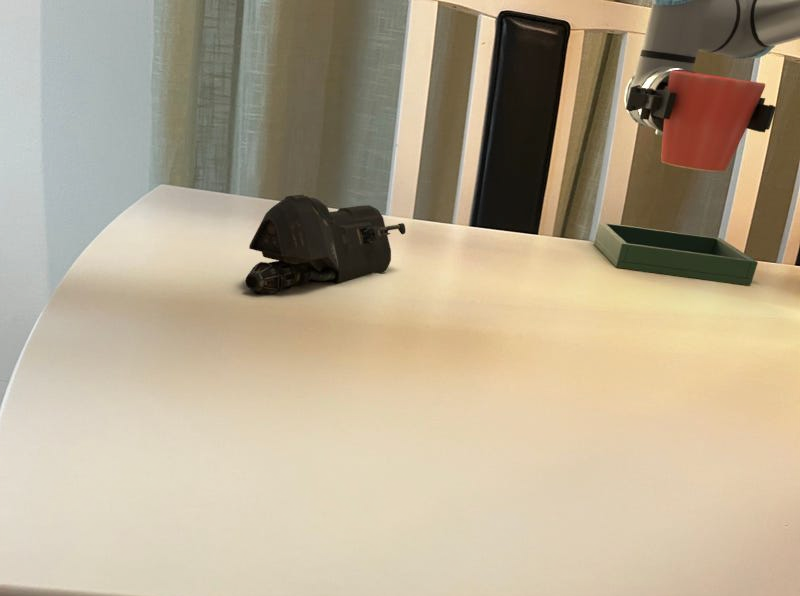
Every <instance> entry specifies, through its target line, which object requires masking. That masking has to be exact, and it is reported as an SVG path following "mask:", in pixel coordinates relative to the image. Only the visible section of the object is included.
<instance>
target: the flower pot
mask: <svg viewBox="0 0 800 596" xmlns="http://www.w3.org/2000/svg"><path fill="white" fill-rule="evenodd" d="M765 88H766V83H765V82H757V81H753V80H752V81H751V80H743V79H737V78H731V77H730V78H729V77H725V76H717V75H710V74H703V73H698V72H695V73H690V72H682V71H670V75H669V82H668V90H667V91H669V92H674V93H677V94H676V97H675V101H674V105H673V109H672V112H671V116H670V119H664V128H663V134H662V140H661V142H662V143H661V156H660V162H661V163H662V164H666V165H669V166H673V167H677V168H683V169H689V170H695V171H703V172H713V173H714V172H715V173H717V172H718V173H719V172H721V173H723V172H724V173H725V171H726V170H727V168H728V166H729V165H730V163H731V161H732V159H733V157H734V155H735V153H736V150H737V148H738V147H739V144H740V142H741V140H742V138H743V136H744V135H745V132H746V130H747V126H748V124H749V122H750V120H751V117H752V115H753V113H754V111H755V109H756V106H757V104H758V102H759V100H760V98H762V95H763V93H764V91H765Z"/></svg>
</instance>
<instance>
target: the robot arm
mask: <svg viewBox="0 0 800 596" xmlns="http://www.w3.org/2000/svg"><path fill="white" fill-rule="evenodd" d="M651 3H652V4H651V9H650V13H649V17H648V20H647V21H648V22H647V25H646V30H645V33H644V39H643V42H642V47H641V51H640V54H639V57H638V60H637V65H636V69H635V73H634V75H633V76H632V77H631V78H630V80H629V81H628V83H627V85H626V88H625V91H624V106H625V107H624V108H625V109H624V110H626V112H627V114H628V115H629V116H630V118H632V120H633V121H634V122H635V123H638V124H639V126H643V127H648V128H650V129H654V130H655V135H656V136H663V128H664V119H670V116H671V112H672V109H673V105H674V101H675V97H676V94H677V93H674V92H669V91H667V90H668V82H669V75H670V71H682V72H690V73H696V72H695V71H693V70H694V69H693V68H694V64H695V63H696V60H697V55H698V52H703V53H709V54H715V55H722V56H727V57H732V58H735V59H738V60H744V59H759V58H762V57H764V56H766V55H767V54H768V53H770V52H771V50H772V49H774V48H775V47H776V46H779V45H782V44H786V43H790V42H794V41H797V40H800V0H651ZM765 101H766V97H760V100H759V102H758V104H757V106H756V109H755V111H754V113H753V115H752V117H751V120H750V122H749V124H748V126H747V128H746V130H747V129H748V130H751V131H754V132H758V133H766V131H767V130H770V128H771V125H772V123H773V119H774V115H775V113H776V109H777V106H776V105H773V104H769V105H768V104H765Z"/></svg>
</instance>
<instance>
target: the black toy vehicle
mask: <svg viewBox="0 0 800 596" xmlns="http://www.w3.org/2000/svg"><path fill="white" fill-rule="evenodd" d="M394 230H398V232H399V234H401V235H402V236H403V235H404V234H406V225H405V223H404V222H402V223H398V224H392V225H386V224H385V219H384V216H383V215H382V213H381V212H380V210H379V209H378V208H376V207H374V206H372V205H370V204H368V205H367V204H365V205H356V206H349V207H347V206H346V207H341V208H338V209H337V210H335V211H330V210H329V207H328V206H327V205H326V204H324V203H323V202H322V201H321V200H320V199H317V198H315V197H309V196H308V195H304V194H296V195H295V194H294V195H287V196H285V198H284V199H282V200H280V201H279V202H277V203H276V204H275V205H273V206H272V207H271V208H270V209H269V210H267V212H266V213H265V215H264V216H263V218H262V219H261V222H260V223H259V226H258V228H257V229H256V232H255V234H254V235H253V237H252V239H251V242H250V243H249V246H248V249H250V250H253V251H256V252H261V255H262V257H263V258H266V259H270V260H274V261H271V262H265V261H259V262H258V263H256V264H255V265H254V266H253V267H252V269H251V270H250V271H249V272H248V274H247V276H246V277H245V286H246V287H247V288H248V289H249V290H250V291H252V292H254V293H256V292H257V293H260V294H263V295H274V294H275V293H277V292H282V291H286V290H290V289H291V288H292V287H294V286H299V285H302V284H304V283H309V281H310V280H313V281H318V282H326V281H329V282H332V283H334V284H339V283H343V282H346V281H350V280H354V279H357V278H361V277H364V276H368V275H371V274H381V273H384V272H386V271H387V270H388V268H389V266H390V264H391V262H392V248H391V245H390V241H389V236H388V235H391V232H389V231H394Z"/></svg>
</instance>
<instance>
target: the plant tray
mask: <svg viewBox="0 0 800 596" xmlns="http://www.w3.org/2000/svg"><path fill="white" fill-rule="evenodd" d="M593 245H595V247H596V248H597V249H598V250H599V251H600V252H601V253H602V254H603V255H604V256H605V257H606V258H607V260H608V261H609V262H610V263H611V264H612V265H613V266H614V267H615V268H616V269H622V270H623V269H624V270H630V271H631V270H632V271H638V272H644V273H645V272H646V273H653V274H660V275H666V276H667V275H668V276H675V277H681V278H688V279H689V278H690V279H695V280H696V279H697V280H705V281H712V282H718V283H719V282H720V283H727V284H732V285H733V284H734V285H735V284H736V285H742V286H749V287H750V286H751V285H752V281H753V278H754V276H755V273H756V270H757V267H758V264H759V263H758V261H757V260H755V259H754V258H752V257H751V256H749V255H748V254H746V253H744V252H743V251H741V250H740V249H738V248H736V246H734V245H732V244H730V243H729V242H728V241H725V240H724V239H722V238H720V237H713V236H705V235H699V234H691V233H683V232H677V231H668V230H661V229H653V228H646V227H638V226H632V225H624V224H617V223H608V222H603V221H599V222H598V225H597V229H596V233H595V237H594V241H593Z"/></svg>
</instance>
